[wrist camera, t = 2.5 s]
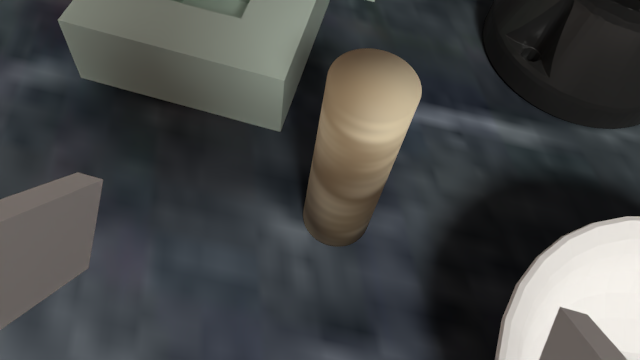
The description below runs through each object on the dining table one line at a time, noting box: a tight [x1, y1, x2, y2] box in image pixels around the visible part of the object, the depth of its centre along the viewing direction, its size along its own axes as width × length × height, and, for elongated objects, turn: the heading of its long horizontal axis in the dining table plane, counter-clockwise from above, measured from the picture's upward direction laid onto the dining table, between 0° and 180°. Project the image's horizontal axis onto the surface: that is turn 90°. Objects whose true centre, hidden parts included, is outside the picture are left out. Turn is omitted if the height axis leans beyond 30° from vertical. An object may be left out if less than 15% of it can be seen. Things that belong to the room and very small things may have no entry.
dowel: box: [303, 49, 422, 246], centre depth 27 cm, size 4×4×12 cm
